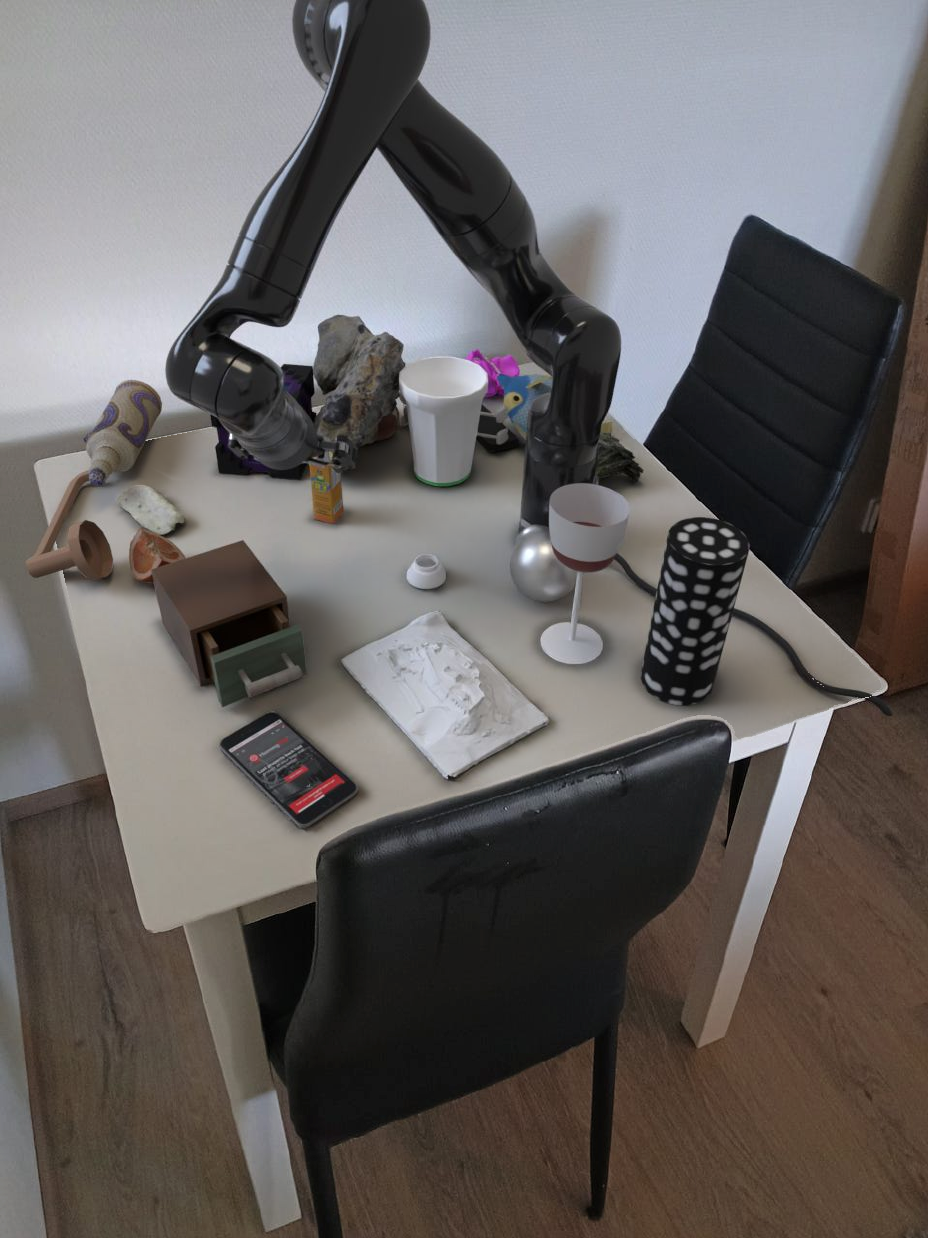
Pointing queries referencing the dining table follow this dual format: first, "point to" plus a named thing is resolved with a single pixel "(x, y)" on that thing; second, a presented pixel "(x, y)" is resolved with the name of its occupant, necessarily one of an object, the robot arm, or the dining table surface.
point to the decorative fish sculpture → (527, 398)
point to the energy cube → (301, 390)
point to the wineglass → (582, 557)
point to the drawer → (252, 654)
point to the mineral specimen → (615, 459)
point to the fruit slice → (150, 554)
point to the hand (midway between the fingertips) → (307, 461)
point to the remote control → (493, 433)
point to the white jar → (426, 572)
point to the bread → (387, 426)
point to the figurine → (500, 437)
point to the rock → (355, 378)
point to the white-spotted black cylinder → (693, 609)
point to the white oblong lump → (150, 509)
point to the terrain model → (443, 694)
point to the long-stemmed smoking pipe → (73, 543)
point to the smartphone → (288, 768)
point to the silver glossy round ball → (539, 566)
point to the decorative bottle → (122, 429)
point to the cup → (443, 416)
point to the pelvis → (495, 370)
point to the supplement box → (326, 493)
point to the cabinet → (212, 596)
